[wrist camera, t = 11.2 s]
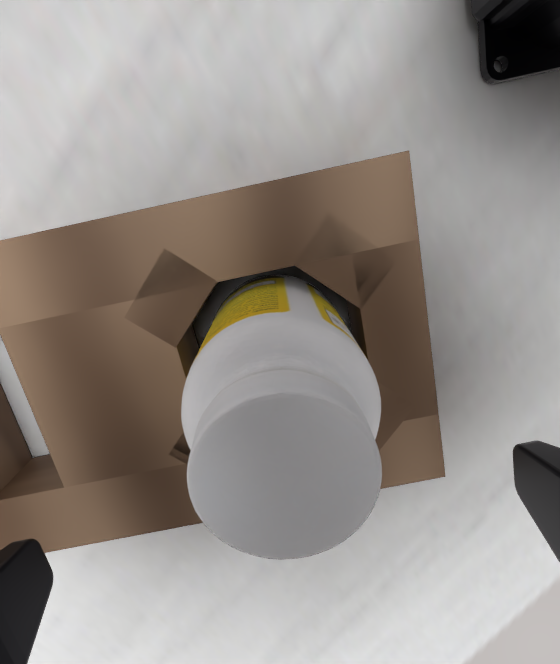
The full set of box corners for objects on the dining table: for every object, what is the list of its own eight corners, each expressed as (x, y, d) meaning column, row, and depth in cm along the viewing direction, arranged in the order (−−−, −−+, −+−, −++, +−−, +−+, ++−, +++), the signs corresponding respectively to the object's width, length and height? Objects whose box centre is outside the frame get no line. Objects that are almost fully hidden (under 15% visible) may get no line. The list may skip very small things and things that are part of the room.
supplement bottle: (198, 376, 18) (121, 554, 9) (233, 255, 17) (185, 314, 7) (316, 409, 19) (361, 610, 9) (359, 296, 17) (464, 398, 8)
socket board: (384, 161, 16) (409, 150, 13) (419, 436, 19) (445, 476, 16) (-139, 276, 17) (-224, 290, 14) (-17, 521, 20) (-65, 573, 17)
